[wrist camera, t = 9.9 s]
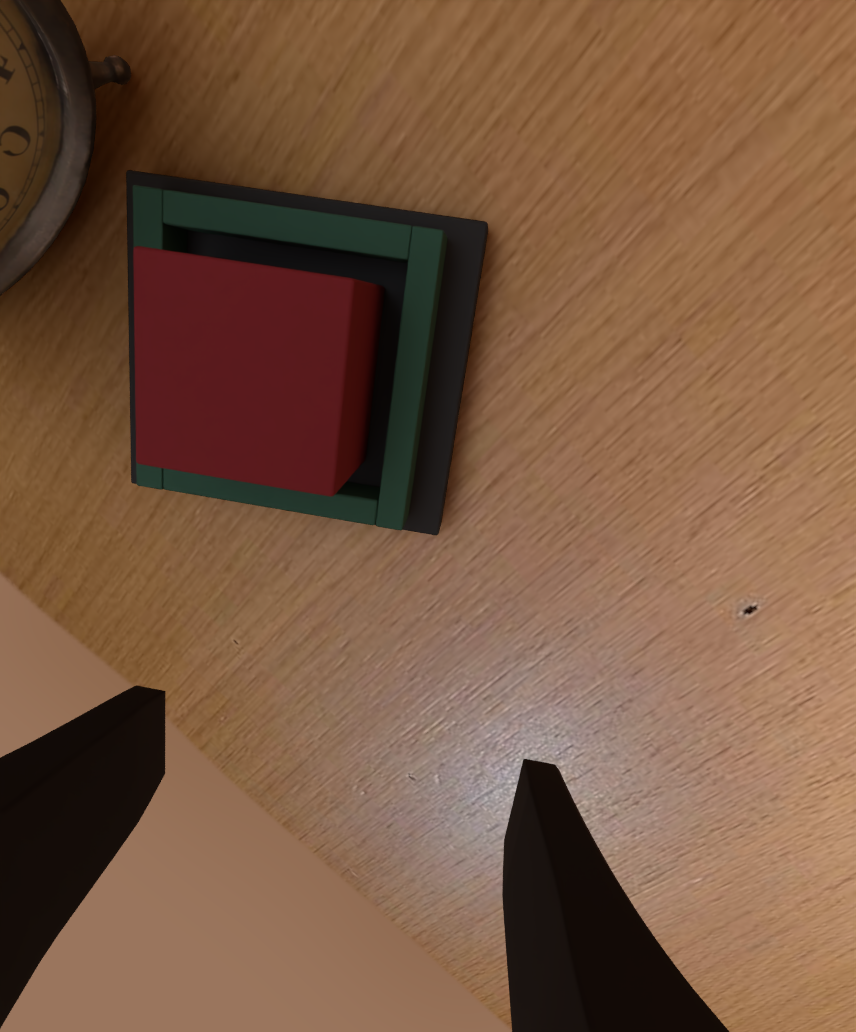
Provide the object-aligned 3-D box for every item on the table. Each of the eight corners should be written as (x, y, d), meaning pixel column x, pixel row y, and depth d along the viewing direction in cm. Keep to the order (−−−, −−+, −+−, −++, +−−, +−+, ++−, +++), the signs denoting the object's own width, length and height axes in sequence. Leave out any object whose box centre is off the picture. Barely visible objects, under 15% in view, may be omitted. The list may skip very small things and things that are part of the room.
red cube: (206, 434, 19) (134, 464, 15) (211, 259, 17) (131, 244, 13) (365, 460, 18) (333, 498, 15) (385, 286, 17) (354, 278, 13)
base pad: (150, 474, 21) (103, 496, 18) (148, 178, 18) (93, 156, 15) (441, 524, 20) (433, 553, 18) (488, 227, 17) (487, 213, 15)
